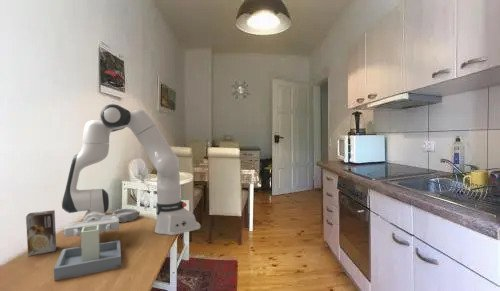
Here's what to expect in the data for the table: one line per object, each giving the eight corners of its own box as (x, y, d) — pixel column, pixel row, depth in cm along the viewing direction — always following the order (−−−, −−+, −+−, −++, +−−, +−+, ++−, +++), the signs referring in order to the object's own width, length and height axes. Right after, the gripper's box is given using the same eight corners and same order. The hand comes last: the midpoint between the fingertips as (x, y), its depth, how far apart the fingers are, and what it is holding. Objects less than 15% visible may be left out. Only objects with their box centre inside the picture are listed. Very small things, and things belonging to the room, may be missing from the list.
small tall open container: (99, 255, 109) (98, 224, 109) (99, 262, 103) (98, 229, 102) (83, 258, 107) (82, 226, 106) (82, 265, 100) (80, 232, 100)
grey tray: (120, 249, 117) (119, 240, 117) (121, 267, 101) (121, 256, 101) (63, 259, 108) (62, 249, 108) (54, 280, 92) (53, 268, 92)
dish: (119, 225, 151) (118, 215, 151) (106, 220, 159) (106, 212, 159) (143, 218, 162) (143, 210, 162) (131, 214, 171) (130, 206, 171)
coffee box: (57, 246, 122) (55, 209, 121) (54, 251, 116) (53, 213, 115) (30, 250, 117) (29, 212, 117) (27, 256, 112) (25, 216, 111)
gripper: (65, 219, 118) (60, 228, 106) (118, 212, 127) (119, 220, 115) (65, 234, 118) (60, 245, 106) (119, 226, 127) (120, 235, 115)
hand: (91, 232), depth 111 cm, fingers open, 8 cm apart
